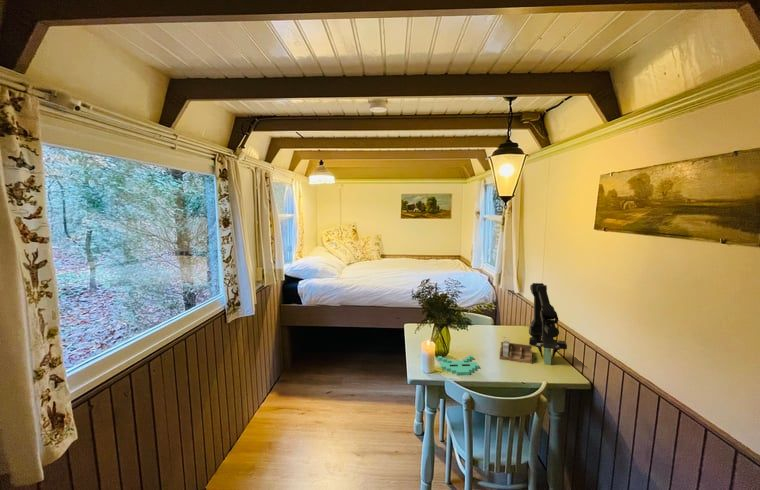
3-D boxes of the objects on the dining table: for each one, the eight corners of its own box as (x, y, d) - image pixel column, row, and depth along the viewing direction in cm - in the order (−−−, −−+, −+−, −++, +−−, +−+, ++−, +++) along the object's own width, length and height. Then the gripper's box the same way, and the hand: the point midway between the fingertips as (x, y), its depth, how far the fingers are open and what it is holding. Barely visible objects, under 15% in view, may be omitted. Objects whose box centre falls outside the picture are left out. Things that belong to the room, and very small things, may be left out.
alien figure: (437, 359, 195) (444, 376, 175) (437, 356, 195) (444, 372, 175) (472, 359, 195) (482, 375, 175) (472, 355, 195) (482, 371, 175)
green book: (543, 357, 194) (544, 344, 193) (549, 358, 193) (549, 344, 192) (544, 364, 185) (544, 350, 184) (550, 365, 184) (551, 351, 183)
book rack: (501, 349, 206) (501, 337, 205) (531, 353, 199) (531, 340, 198) (499, 359, 193) (499, 345, 192) (531, 363, 186) (532, 349, 185)
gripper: (529, 333, 184) (529, 361, 185) (568, 338, 176) (567, 366, 178) (529, 327, 194) (529, 353, 195) (566, 331, 186) (565, 357, 188)
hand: (547, 357), depth 189 cm, fingers open, 5 cm apart
